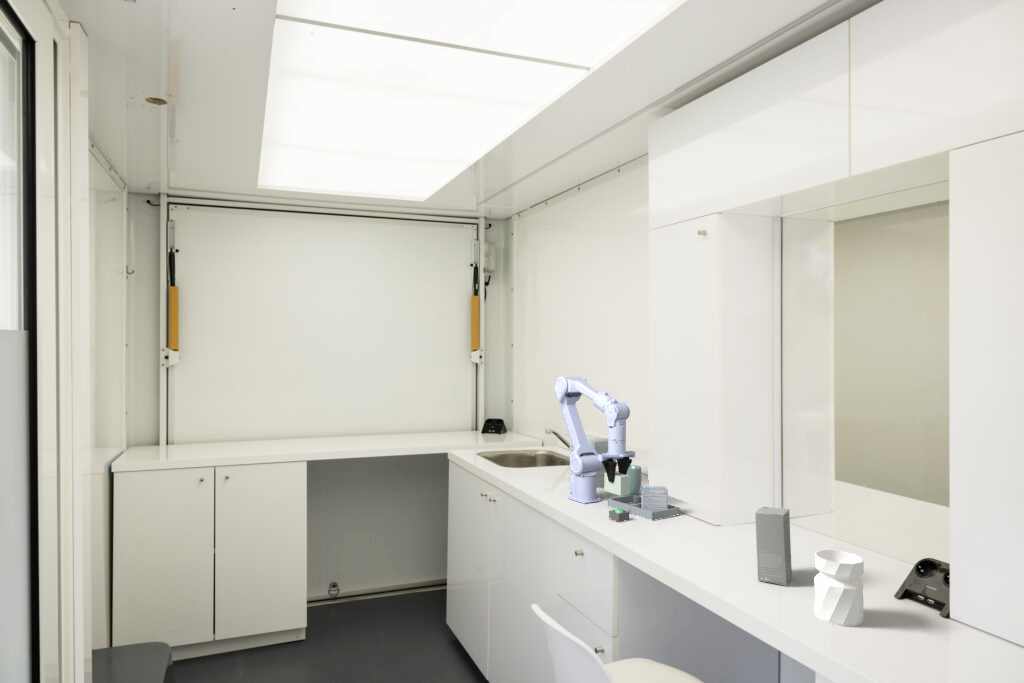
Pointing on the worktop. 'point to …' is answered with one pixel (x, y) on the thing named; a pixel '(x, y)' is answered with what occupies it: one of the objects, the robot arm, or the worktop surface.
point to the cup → (634, 479)
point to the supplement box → (600, 448)
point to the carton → (618, 484)
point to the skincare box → (773, 545)
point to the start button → (619, 510)
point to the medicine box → (654, 498)
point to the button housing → (619, 515)
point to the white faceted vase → (838, 587)
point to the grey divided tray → (636, 508)
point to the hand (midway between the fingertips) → (616, 481)
